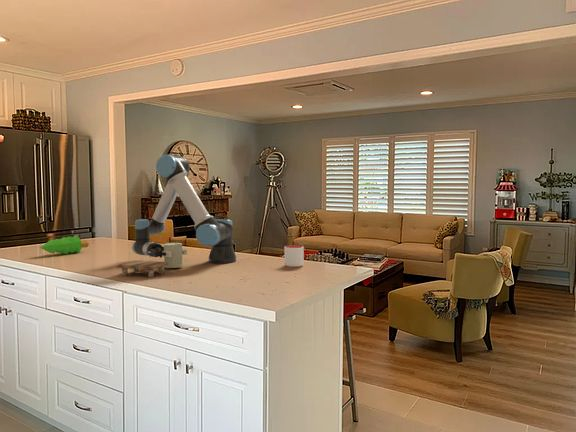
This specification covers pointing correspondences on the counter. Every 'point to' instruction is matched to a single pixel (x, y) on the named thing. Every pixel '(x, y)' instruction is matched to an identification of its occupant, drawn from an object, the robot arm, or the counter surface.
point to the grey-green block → (173, 255)
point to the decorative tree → (65, 245)
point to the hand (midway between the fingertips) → (178, 253)
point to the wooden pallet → (142, 267)
